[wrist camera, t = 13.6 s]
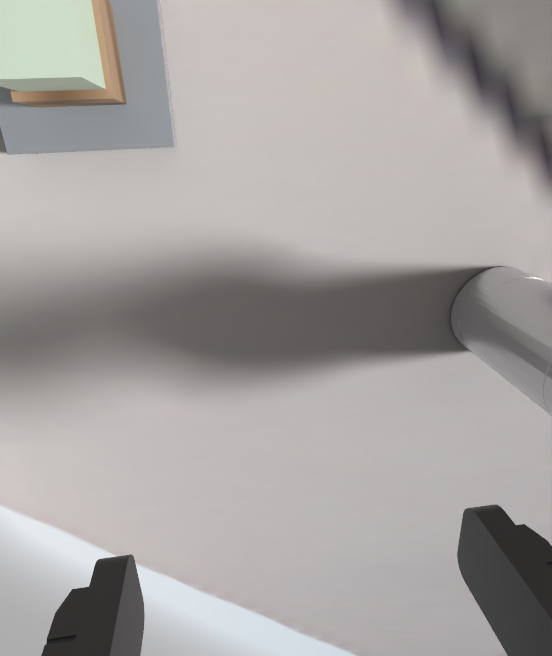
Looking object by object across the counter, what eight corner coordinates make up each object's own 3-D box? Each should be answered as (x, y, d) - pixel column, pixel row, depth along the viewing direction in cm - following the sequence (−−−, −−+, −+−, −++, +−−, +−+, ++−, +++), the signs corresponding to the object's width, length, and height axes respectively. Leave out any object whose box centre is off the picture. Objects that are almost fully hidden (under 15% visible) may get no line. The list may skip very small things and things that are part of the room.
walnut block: (111, 5, 31) (95, -18, 26) (126, 104, 33) (113, 98, 29) (18, 7, 30) (-16, -17, 26) (40, 107, 33) (12, 102, 28)
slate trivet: (155, -34, 33) (150, -50, 30) (176, 146, 38) (174, 146, 35) (-22, -33, 32) (-44, -50, 29) (22, 153, 36) (7, 154, 33)
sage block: (90, -8, 27) (59, -47, 21) (105, 89, 28) (81, 76, 23) (-2, -7, 26) (-58, -47, 21) (21, 91, 28) (-25, 79, 22)
